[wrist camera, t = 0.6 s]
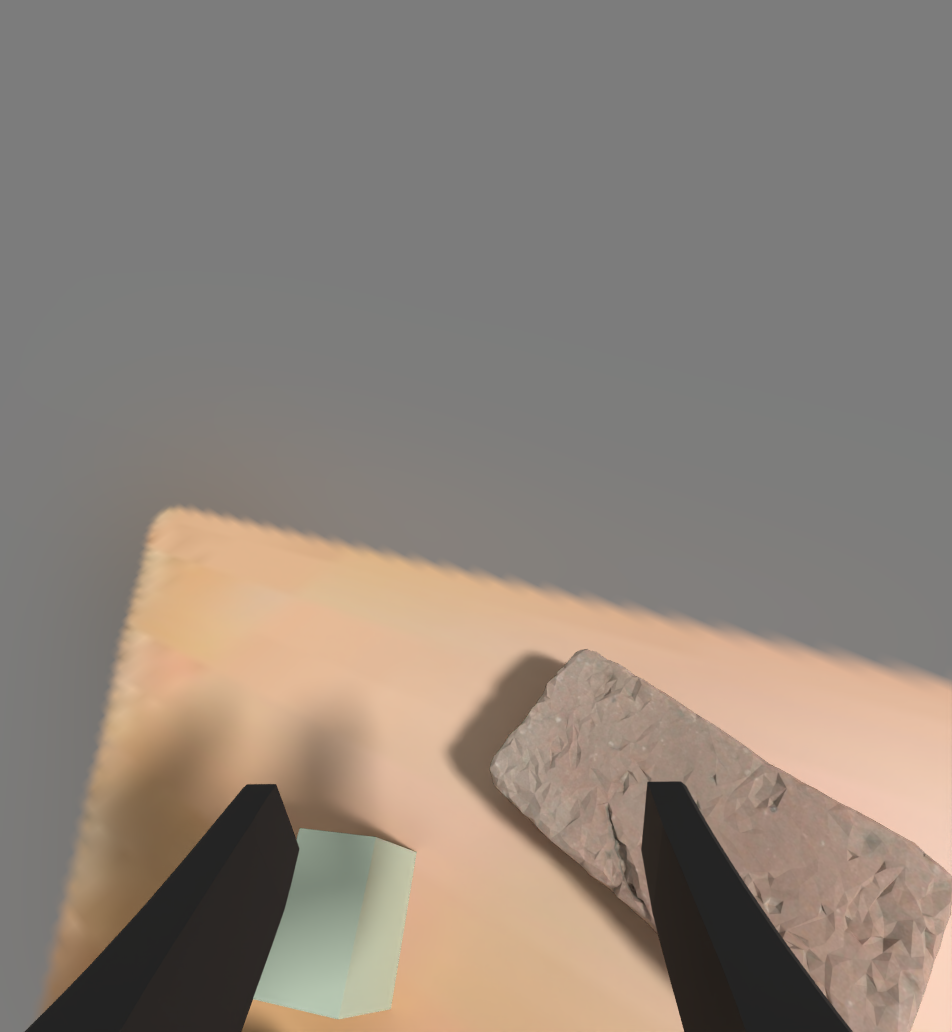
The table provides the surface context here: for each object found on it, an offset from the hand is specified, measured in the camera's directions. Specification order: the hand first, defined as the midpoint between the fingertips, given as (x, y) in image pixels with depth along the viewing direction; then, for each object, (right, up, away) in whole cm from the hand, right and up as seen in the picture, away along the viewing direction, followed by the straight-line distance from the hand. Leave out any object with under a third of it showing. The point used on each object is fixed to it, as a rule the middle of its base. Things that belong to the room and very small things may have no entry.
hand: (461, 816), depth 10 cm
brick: (+10, -9, +15) cm, 20 cm away
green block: (-5, -14, +16) cm, 22 cm away
